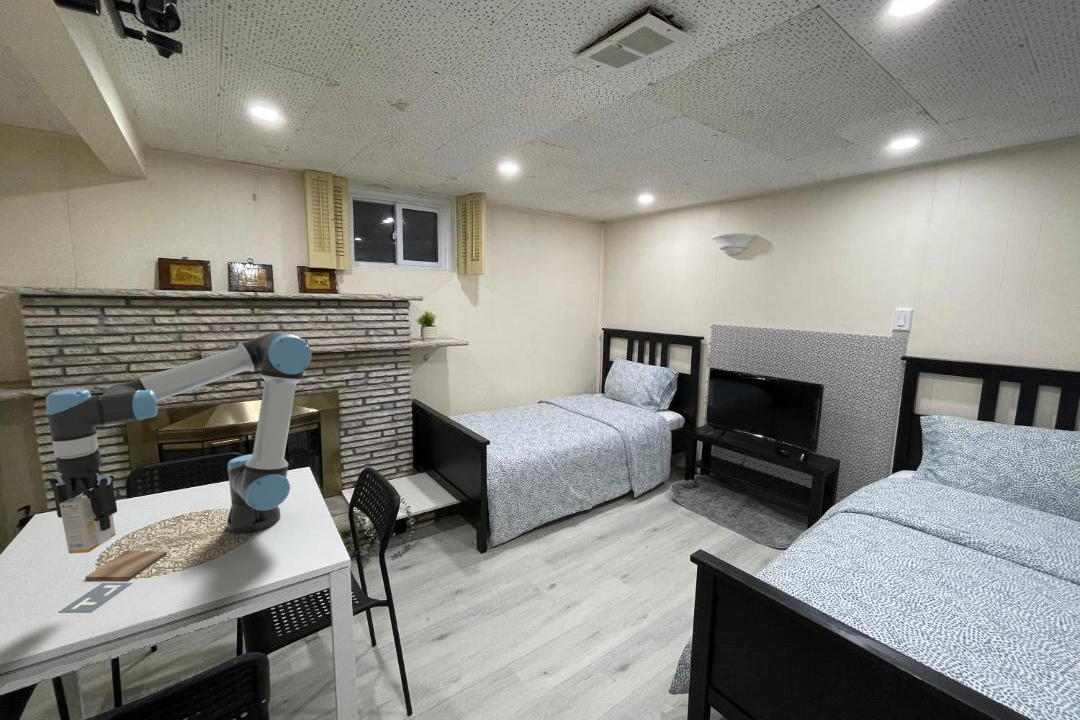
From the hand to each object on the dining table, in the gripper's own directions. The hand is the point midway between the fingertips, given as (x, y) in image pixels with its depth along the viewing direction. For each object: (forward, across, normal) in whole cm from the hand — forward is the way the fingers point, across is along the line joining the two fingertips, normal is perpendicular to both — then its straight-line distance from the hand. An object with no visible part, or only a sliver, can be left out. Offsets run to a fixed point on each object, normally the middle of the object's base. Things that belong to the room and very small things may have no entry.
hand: (92, 541), depth 113 cm
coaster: (+15, +4, -12) cm, 19 cm away
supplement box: (+1, 0, 0) cm, 1 cm away
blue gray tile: (+14, 0, +1) cm, 14 cm away
